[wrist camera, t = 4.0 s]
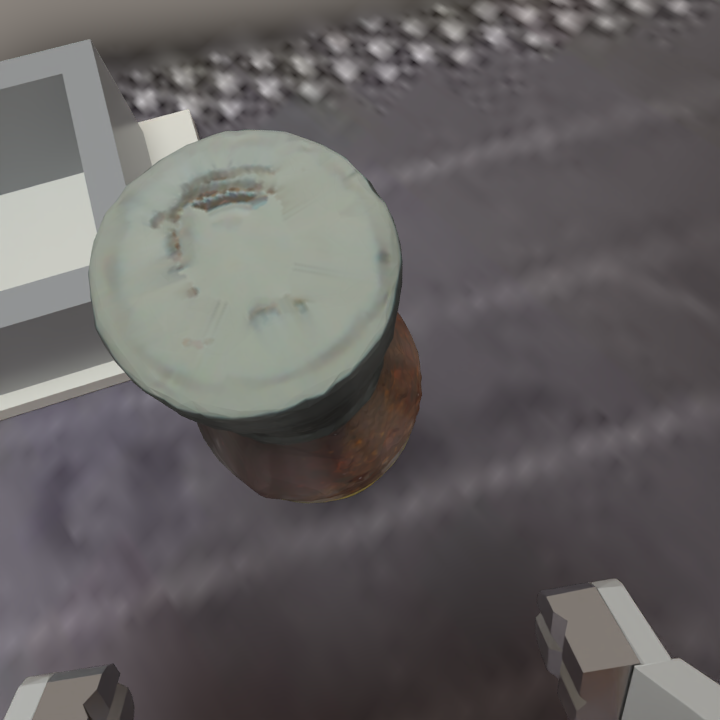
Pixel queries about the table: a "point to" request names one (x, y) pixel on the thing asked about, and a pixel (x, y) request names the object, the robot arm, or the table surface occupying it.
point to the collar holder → (62, 215)
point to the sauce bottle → (264, 310)
